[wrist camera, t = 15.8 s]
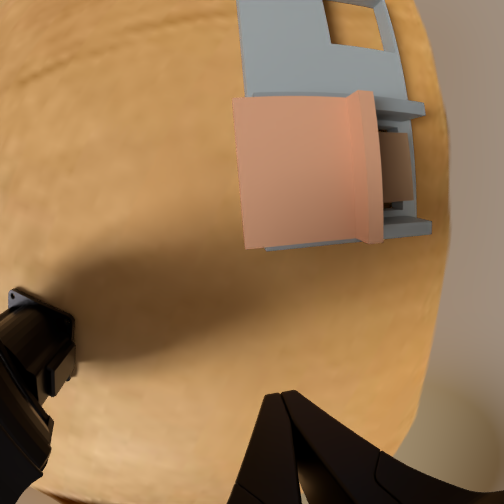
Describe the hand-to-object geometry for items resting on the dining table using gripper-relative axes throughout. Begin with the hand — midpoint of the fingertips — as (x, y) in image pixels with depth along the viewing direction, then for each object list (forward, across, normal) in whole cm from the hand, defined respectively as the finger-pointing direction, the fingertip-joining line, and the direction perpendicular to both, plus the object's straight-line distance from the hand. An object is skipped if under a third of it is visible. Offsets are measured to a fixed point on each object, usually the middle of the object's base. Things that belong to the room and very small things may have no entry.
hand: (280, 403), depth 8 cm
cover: (+8, -3, -6) cm, 11 cm away
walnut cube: (+13, -8, -6) cm, 16 cm away
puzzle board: (+13, -7, -11) cm, 18 cm away
